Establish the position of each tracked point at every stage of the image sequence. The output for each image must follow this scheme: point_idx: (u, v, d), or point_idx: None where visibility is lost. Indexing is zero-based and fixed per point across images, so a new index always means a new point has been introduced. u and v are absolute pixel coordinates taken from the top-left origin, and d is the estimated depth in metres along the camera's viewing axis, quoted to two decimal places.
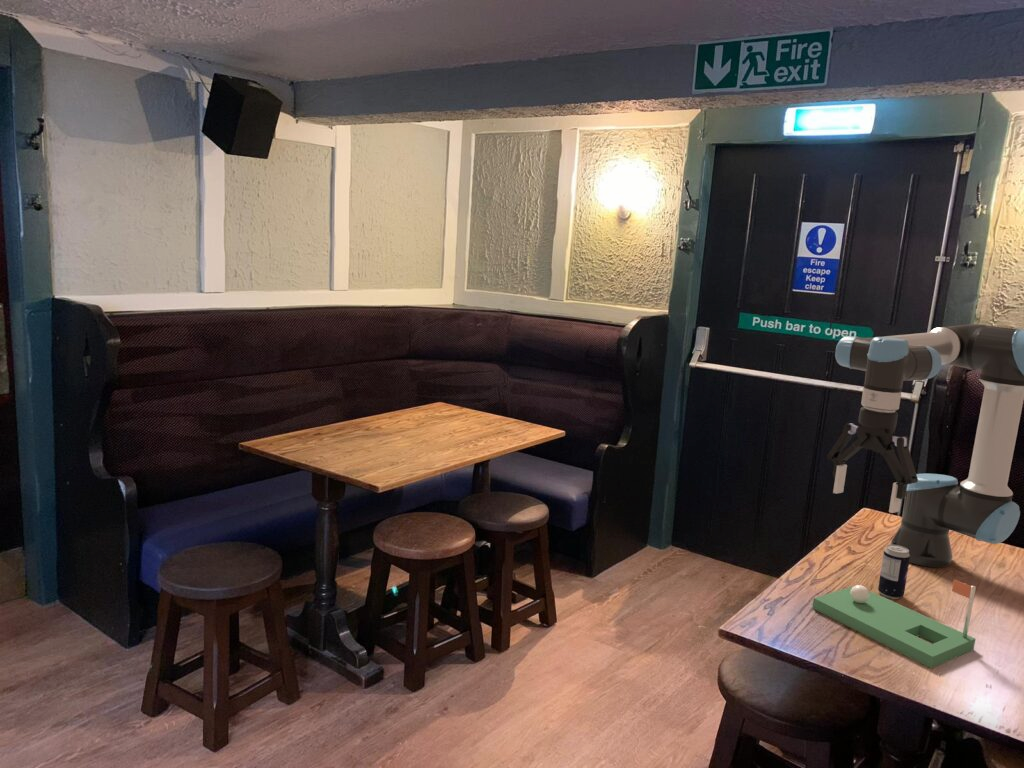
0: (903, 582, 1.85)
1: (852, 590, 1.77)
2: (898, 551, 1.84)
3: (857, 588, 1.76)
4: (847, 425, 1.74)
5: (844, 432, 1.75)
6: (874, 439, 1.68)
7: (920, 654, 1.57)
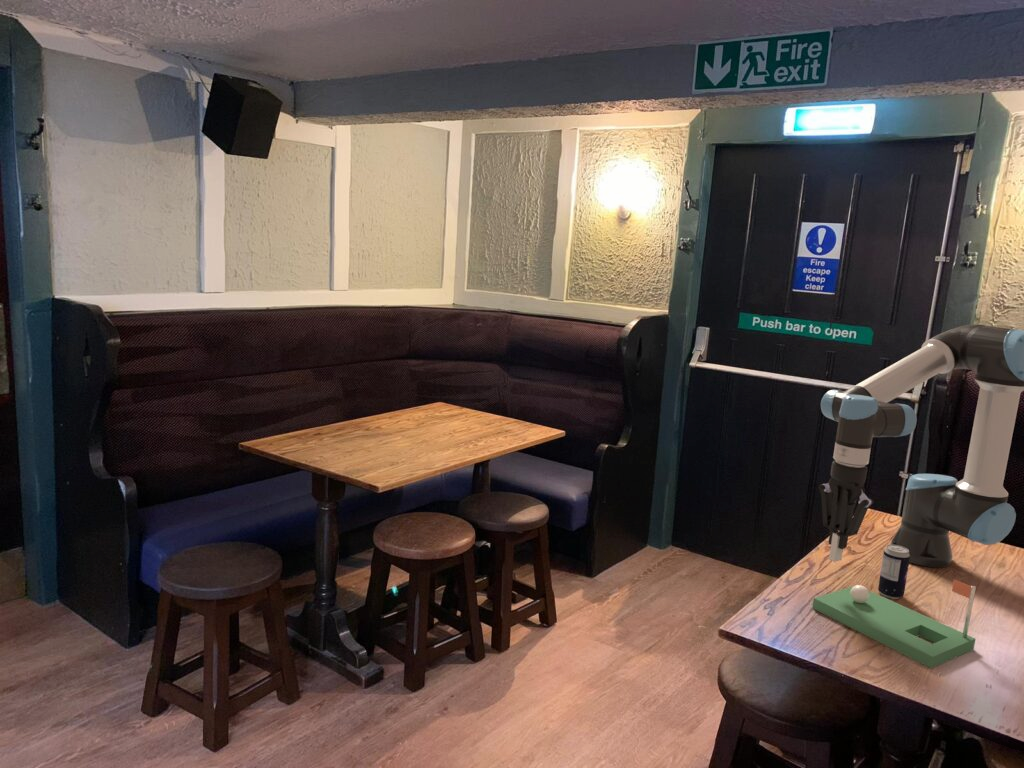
0: (903, 582, 1.85)
1: (852, 590, 1.77)
2: (898, 551, 1.84)
3: (857, 588, 1.76)
4: (820, 485, 1.83)
5: (822, 493, 1.83)
6: (845, 491, 1.77)
7: (920, 654, 1.57)
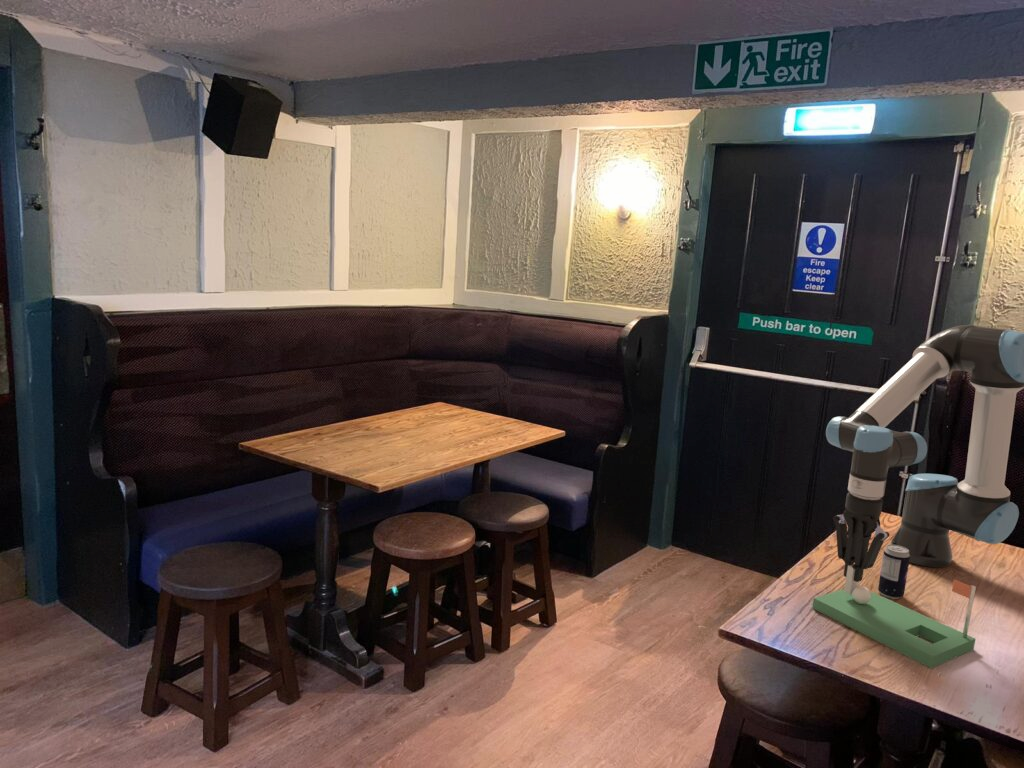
0: (903, 582, 1.85)
1: (855, 591, 1.76)
2: (898, 551, 1.84)
3: (860, 590, 1.76)
4: (835, 517, 1.80)
5: (836, 525, 1.80)
6: (860, 524, 1.74)
7: (920, 654, 1.57)
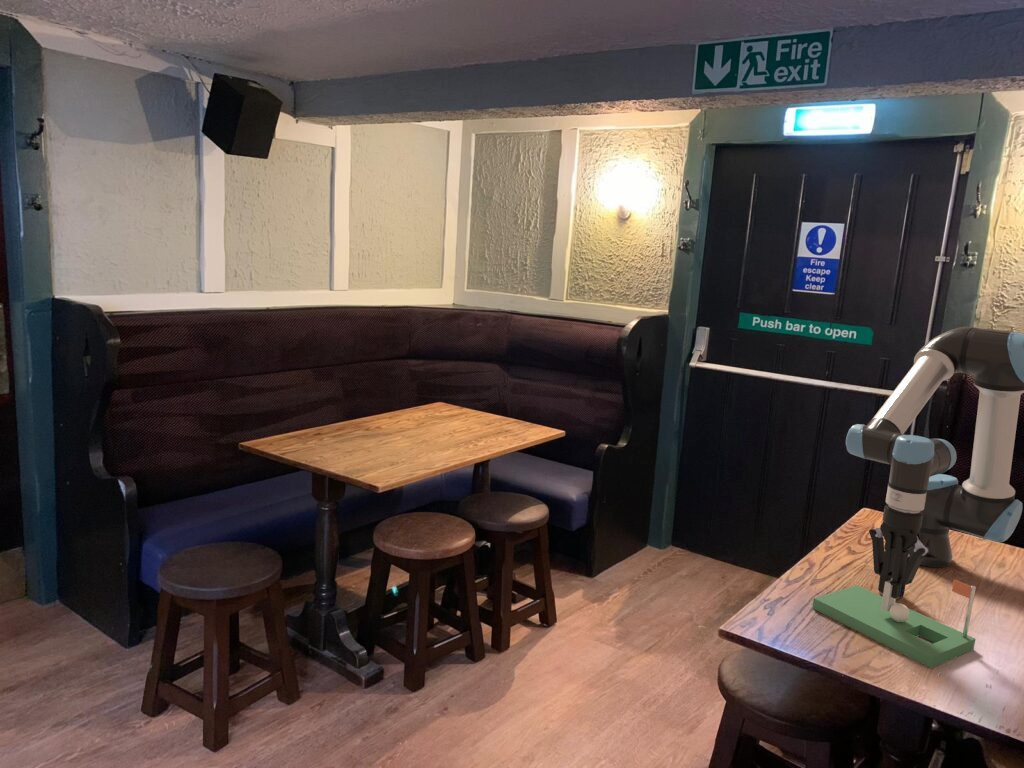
0: None
1: (892, 618, 1.69)
2: None
3: (889, 613, 1.70)
4: (871, 530, 1.72)
5: (873, 538, 1.72)
6: (899, 538, 1.66)
7: (920, 654, 1.57)
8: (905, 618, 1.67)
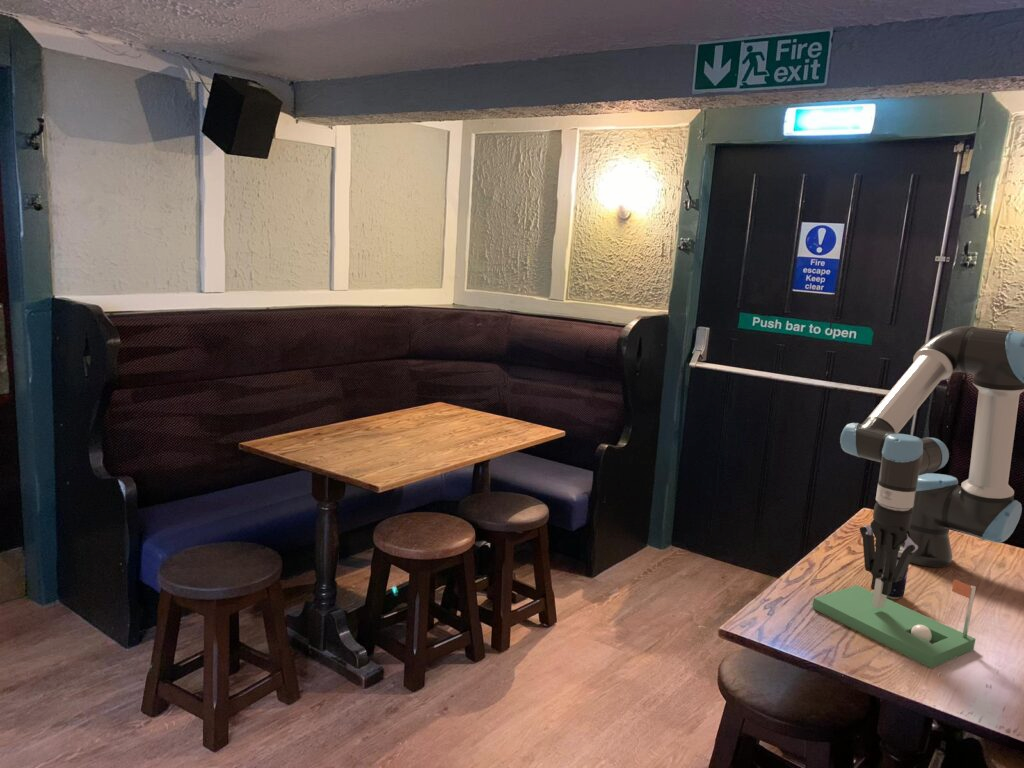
0: (903, 582, 1.85)
1: (918, 631, 1.64)
2: None
3: (924, 634, 1.63)
4: (861, 528, 1.75)
5: (863, 536, 1.74)
6: (889, 536, 1.68)
7: (920, 654, 1.57)
8: (911, 630, 1.66)
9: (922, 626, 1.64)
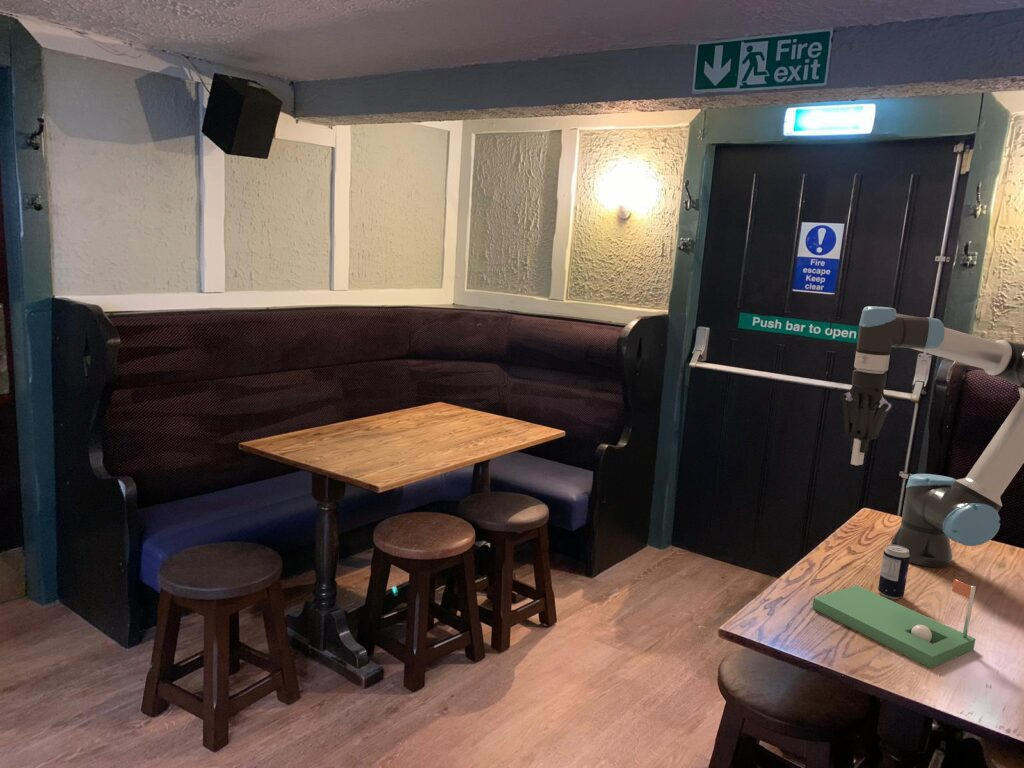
0: (903, 582, 1.85)
1: (918, 631, 1.64)
2: (898, 551, 1.84)
3: (924, 635, 1.63)
4: (842, 395, 1.94)
5: (843, 402, 1.94)
6: (865, 397, 1.88)
7: (920, 654, 1.57)
8: (911, 630, 1.66)
9: (922, 626, 1.64)
